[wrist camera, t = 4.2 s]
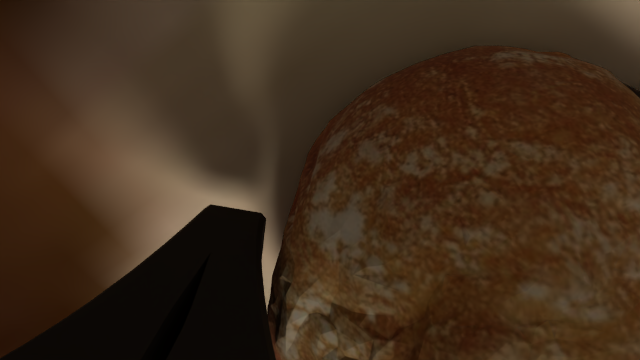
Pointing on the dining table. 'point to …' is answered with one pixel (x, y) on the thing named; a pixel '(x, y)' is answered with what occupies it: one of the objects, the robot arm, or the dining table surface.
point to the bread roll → (468, 217)
